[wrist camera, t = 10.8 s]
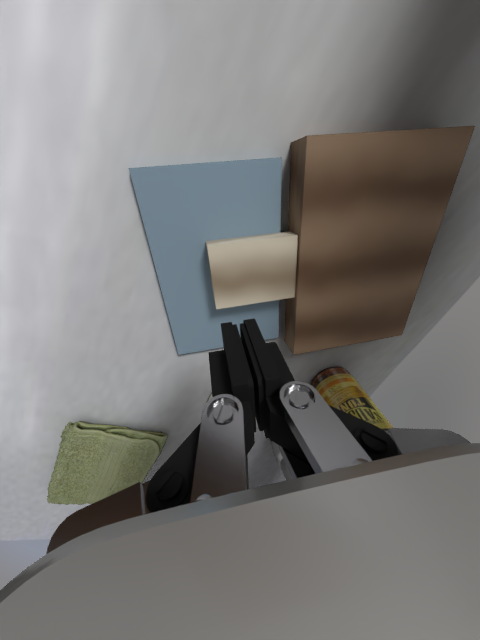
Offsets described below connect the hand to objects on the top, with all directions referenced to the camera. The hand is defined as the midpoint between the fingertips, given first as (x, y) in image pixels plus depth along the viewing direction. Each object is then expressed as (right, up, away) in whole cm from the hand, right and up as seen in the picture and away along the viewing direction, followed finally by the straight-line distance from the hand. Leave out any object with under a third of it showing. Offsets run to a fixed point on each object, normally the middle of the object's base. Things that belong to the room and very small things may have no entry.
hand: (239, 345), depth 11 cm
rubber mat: (-2, +6, +12) cm, 13 cm away
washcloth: (-20, -19, +23) cm, 36 cm away
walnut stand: (+12, +8, +13) cm, 20 cm away
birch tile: (+1, +6, +11) cm, 13 cm away
